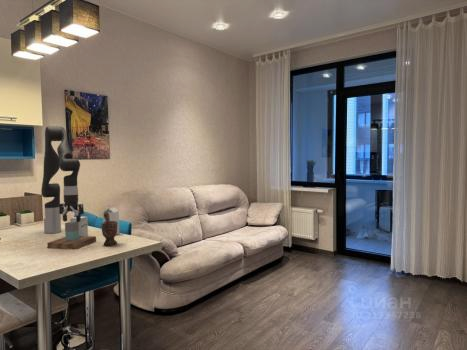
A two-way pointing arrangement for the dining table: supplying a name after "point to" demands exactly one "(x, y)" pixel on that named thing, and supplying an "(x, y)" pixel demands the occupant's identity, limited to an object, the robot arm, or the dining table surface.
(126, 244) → the dining table surface
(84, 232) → the supplement box
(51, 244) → the walnut base
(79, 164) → the robot arm
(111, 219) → the milk carton
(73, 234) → the teal block
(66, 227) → the charcoal block
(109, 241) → the mortar and pestle
